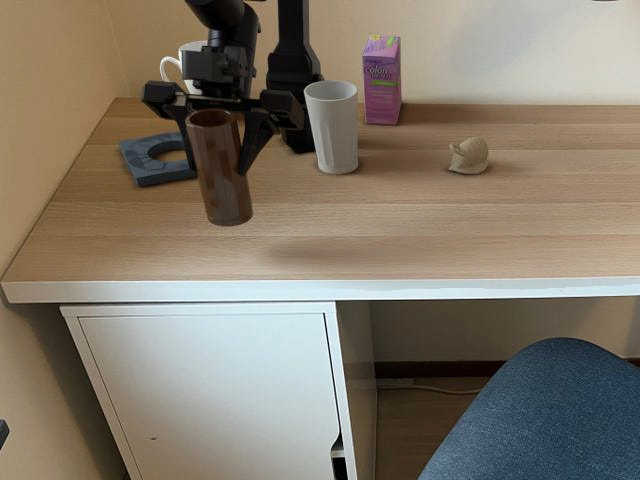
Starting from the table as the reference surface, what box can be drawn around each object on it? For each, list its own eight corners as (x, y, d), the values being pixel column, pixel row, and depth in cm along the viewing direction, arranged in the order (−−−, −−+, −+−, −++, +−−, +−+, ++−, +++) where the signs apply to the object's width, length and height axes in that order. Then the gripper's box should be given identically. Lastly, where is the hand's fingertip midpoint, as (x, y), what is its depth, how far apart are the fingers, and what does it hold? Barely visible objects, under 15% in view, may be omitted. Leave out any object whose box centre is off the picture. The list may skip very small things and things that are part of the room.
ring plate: (207, 134, 131) (206, 125, 130) (232, 169, 122) (230, 160, 121) (118, 150, 126) (116, 141, 125) (137, 188, 117) (134, 178, 116)
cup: (371, 158, 127) (366, 85, 118) (349, 180, 121) (342, 104, 113) (327, 150, 128) (319, 76, 120) (304, 170, 123) (294, 95, 115)
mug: (243, 106, 141) (232, 40, 133) (238, 124, 135) (225, 57, 127) (175, 106, 140) (160, 40, 132) (166, 125, 133) (149, 57, 126)
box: (397, 125, 137) (395, 56, 129) (365, 124, 137) (360, 54, 129) (402, 102, 145) (400, 35, 137) (372, 101, 144) (368, 34, 136)
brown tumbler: (245, 200, 104) (227, 105, 96) (259, 220, 101) (241, 123, 92) (202, 210, 102) (180, 113, 93) (214, 230, 98) (192, 131, 90)
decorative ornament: (495, 167, 126) (497, 135, 123) (455, 181, 122) (455, 149, 118) (479, 158, 128) (481, 127, 125) (439, 171, 124) (439, 139, 121)
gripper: (125, 9, 89) (109, 142, 88) (284, 21, 88) (269, 156, 87) (169, 56, 100) (155, 175, 99) (311, 67, 99) (297, 187, 98)
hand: (216, 173), depth 96 cm, fingers closed on brown tumbler, 6 cm apart
